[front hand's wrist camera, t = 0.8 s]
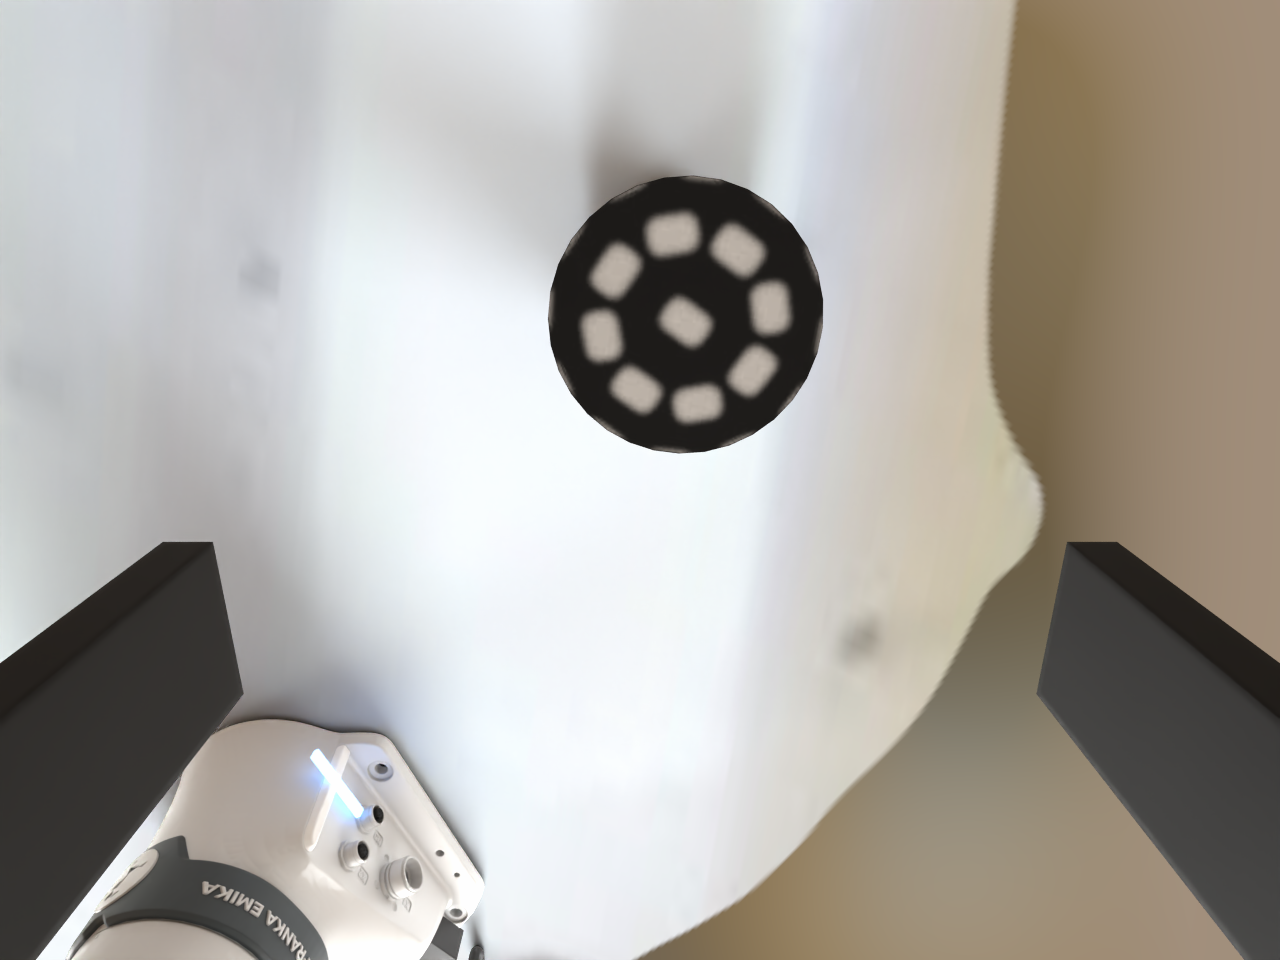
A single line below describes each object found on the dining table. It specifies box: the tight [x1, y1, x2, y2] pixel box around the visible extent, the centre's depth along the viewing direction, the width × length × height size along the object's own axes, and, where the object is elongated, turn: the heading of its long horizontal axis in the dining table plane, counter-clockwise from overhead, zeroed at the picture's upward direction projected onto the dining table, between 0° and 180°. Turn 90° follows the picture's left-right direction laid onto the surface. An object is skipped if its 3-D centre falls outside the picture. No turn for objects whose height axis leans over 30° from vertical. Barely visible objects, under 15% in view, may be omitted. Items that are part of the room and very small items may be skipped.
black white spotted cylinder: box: [548, 176, 823, 453], centre depth 34 cm, size 8×8×20 cm
